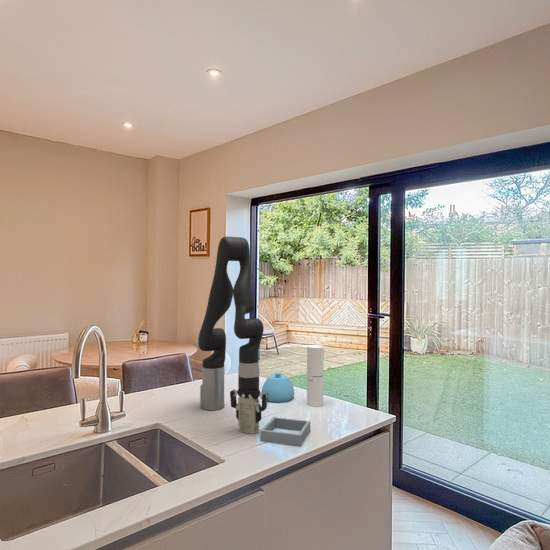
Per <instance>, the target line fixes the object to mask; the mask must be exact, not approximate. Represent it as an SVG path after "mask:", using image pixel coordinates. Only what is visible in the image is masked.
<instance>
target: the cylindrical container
mask: <svg viewBox="0 0 550 550" xmlns="http://www.w3.org/2000/svg"><path fill="white" fill-rule="evenodd" d="M324 352H325V351H324V345H320V344H309V345H306V405H308V406H309V407H323V406H324V379H325V378H324V375H325V374H324V372H325V371H324V370H325V369H324Z"/></svg>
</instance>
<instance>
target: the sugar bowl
mask: <svg viewBox="0 0 550 550" xmlns="http://www.w3.org/2000/svg"><path fill="white" fill-rule="evenodd" d="M260 392H261V393H268V399H267V402H270V403H286V402H290V401H291V400H292V399H293V398H294V396H295V389H294V386H293V383H292V382H291V380H290V378H289V377H288V375H284V374H282V372H278V371H277V372H274V374H272V375H269V376H268V377H267V378H266V379H265V381H264V383H263V385H262V387H261V390H260Z"/></svg>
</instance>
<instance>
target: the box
mask: <svg viewBox="0 0 550 550" xmlns="http://www.w3.org/2000/svg"><path fill="white" fill-rule="evenodd" d="M275 428H276V429H283V430H292V431H299V433H292V432H285V431H278V430H277V431H276V430H275ZM259 430H260V432H259V433H260V439H259V440H260V442H266V443H272V444H274V443H275V444H279V445H289V446H295V447H302V445H303V444H304V442H305V440H306V439H307V437H308V435H309V433H310V432H311V420H304V419H303V420H302V419H294V418H286V417H275V416H273V417H272V418H271V419H270V420H269V421H268V422H267V423H266V424H264V426H263V427H261V429H259Z"/></svg>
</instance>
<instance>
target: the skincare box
mask: <svg viewBox="0 0 550 550" xmlns="http://www.w3.org/2000/svg"><path fill="white" fill-rule="evenodd" d="M237 398H238V399H237V404H238V409H239V420H238V432H240V433H244V434H250V435H251V434H253V435H254V434H256V433H257V432H259V430H260V421H259V422H258V423H257V422H256V412H257V411H256V409H255V407H254V400H255V399H249V398H244V399H243V398H241V397H239V396H238V397H237ZM258 400H259V397H258V398H257V399H256V400H255V402H256V403H257V402H258Z"/></svg>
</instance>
